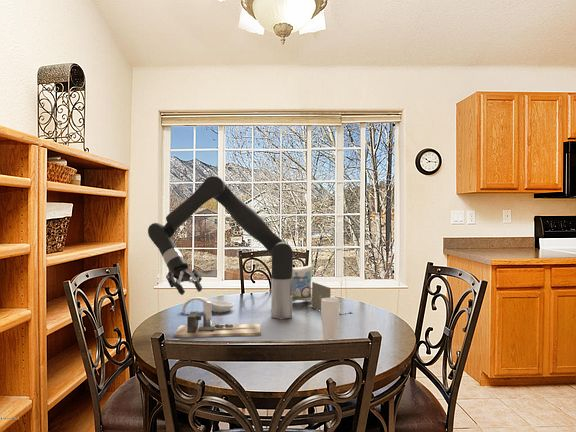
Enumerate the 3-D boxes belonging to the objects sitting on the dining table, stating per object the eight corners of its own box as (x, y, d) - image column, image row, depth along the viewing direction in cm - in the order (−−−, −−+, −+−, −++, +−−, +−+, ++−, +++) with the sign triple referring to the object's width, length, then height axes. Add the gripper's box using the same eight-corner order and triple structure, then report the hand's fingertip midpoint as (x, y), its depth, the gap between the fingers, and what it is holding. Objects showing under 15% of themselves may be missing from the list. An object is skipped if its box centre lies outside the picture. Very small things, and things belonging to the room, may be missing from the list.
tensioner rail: (259, 326, 160) (260, 309, 160) (260, 335, 148) (260, 316, 148) (179, 328, 157) (180, 310, 157) (174, 337, 145) (174, 318, 145)
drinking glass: (327, 336, 147) (327, 296, 147) (342, 340, 143) (343, 299, 143) (317, 340, 142) (317, 299, 142) (332, 345, 138) (333, 302, 138)
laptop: (353, 314, 183) (353, 286, 183) (329, 316, 178) (329, 288, 178) (333, 305, 199) (333, 280, 199) (311, 308, 194) (311, 281, 194)
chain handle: (233, 325, 156) (233, 300, 156) (233, 329, 151) (233, 302, 151) (200, 326, 155) (200, 300, 154) (198, 330, 150) (198, 303, 150)
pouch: (276, 303, 203) (277, 264, 203) (309, 300, 210) (309, 262, 210) (282, 306, 195) (283, 266, 195) (316, 303, 203) (317, 264, 203)
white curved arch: (232, 308, 192) (232, 293, 192) (234, 314, 181) (234, 298, 181) (182, 310, 187) (182, 295, 187) (181, 316, 176) (181, 300, 176)
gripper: (164, 256, 158) (181, 288, 151) (192, 254, 169) (210, 283, 162) (156, 268, 161) (173, 300, 154) (185, 265, 172) (201, 295, 165)
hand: (192, 292), depth 158 cm, fingers open, 8 cm apart
